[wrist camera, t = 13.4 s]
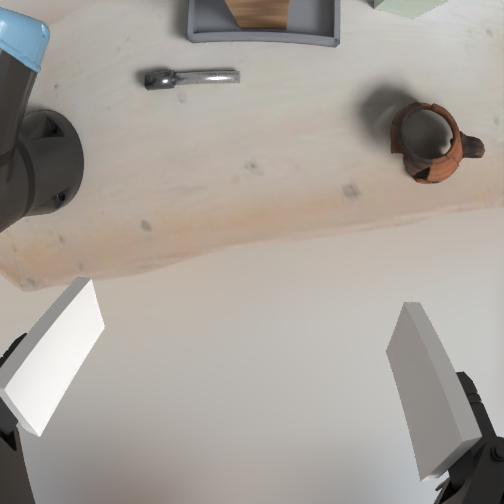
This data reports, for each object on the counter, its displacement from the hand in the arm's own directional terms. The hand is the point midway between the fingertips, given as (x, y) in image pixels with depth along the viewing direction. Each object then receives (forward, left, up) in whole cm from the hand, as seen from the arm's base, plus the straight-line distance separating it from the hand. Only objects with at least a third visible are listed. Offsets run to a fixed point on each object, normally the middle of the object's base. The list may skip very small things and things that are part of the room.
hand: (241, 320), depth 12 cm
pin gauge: (-9, +11, -27) cm, 30 cm away
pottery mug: (+19, +6, -27) cm, 34 cm away
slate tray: (-1, +19, -27) cm, 33 cm away
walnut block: (-1, +19, -26) cm, 33 cm away
